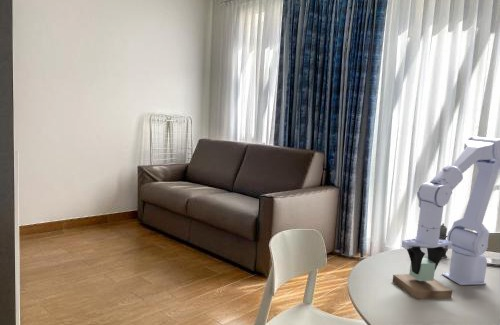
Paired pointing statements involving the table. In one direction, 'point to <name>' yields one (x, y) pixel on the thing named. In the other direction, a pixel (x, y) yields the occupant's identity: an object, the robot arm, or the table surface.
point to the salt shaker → (443, 236)
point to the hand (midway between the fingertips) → (423, 272)
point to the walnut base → (422, 287)
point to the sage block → (424, 271)
